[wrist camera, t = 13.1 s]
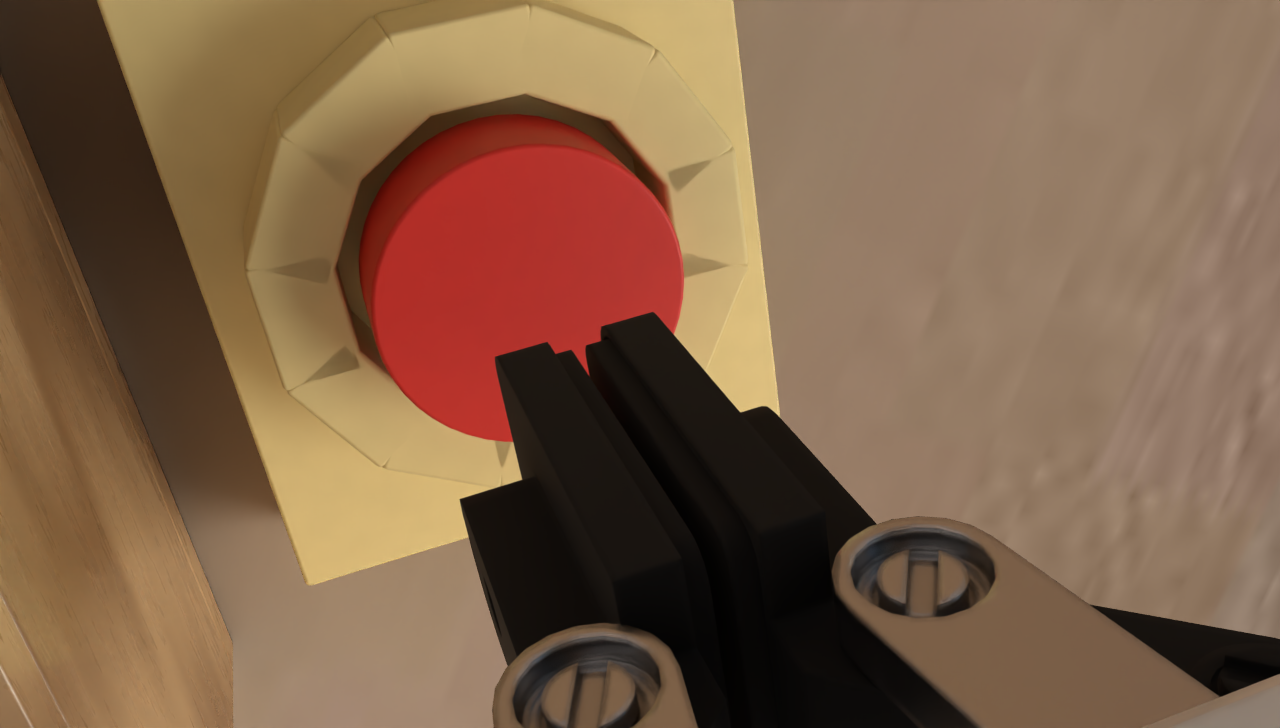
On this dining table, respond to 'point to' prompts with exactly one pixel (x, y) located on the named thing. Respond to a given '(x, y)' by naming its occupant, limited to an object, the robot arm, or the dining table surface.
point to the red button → (507, 259)
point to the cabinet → (86, 506)
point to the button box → (355, 171)
